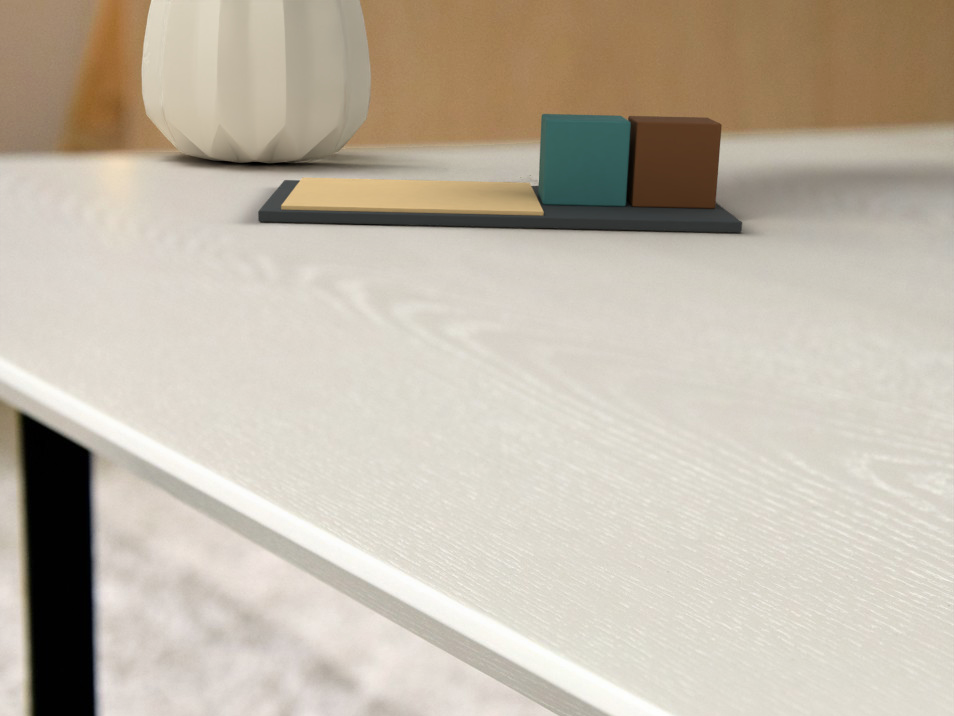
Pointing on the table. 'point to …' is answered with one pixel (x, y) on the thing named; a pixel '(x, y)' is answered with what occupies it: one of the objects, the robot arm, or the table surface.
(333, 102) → the vase
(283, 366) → the table surface
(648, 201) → the word mat
